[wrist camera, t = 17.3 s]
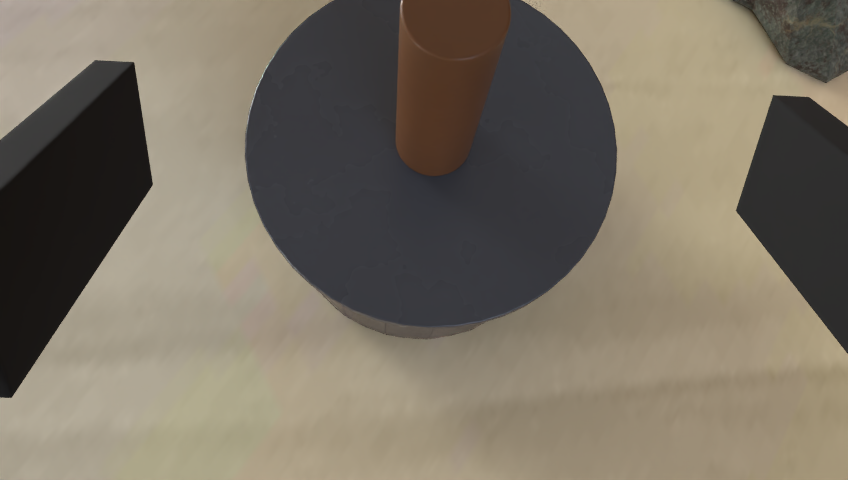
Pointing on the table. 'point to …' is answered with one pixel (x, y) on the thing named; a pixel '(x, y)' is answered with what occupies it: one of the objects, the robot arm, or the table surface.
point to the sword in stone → (807, 33)
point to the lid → (430, 157)
